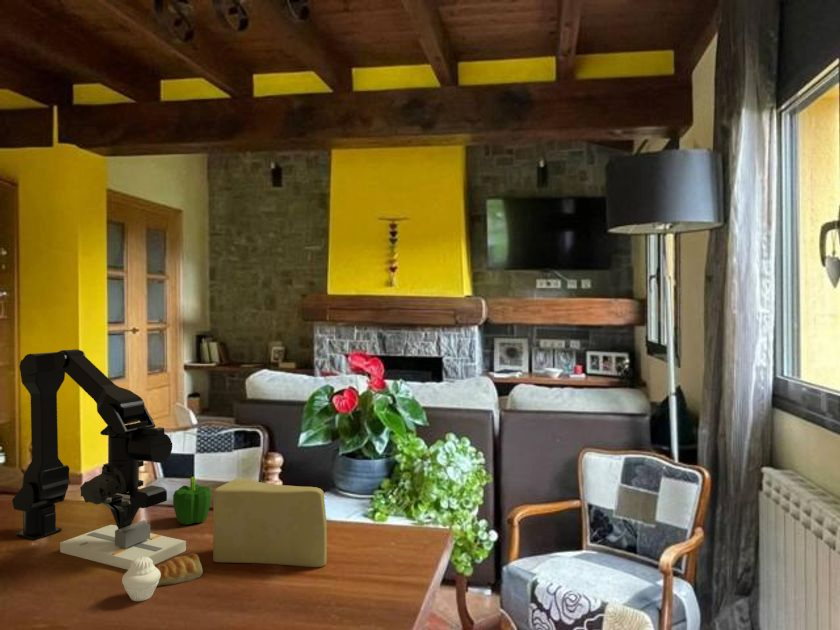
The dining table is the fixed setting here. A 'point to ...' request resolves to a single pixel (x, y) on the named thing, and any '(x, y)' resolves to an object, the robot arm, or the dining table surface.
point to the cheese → (269, 524)
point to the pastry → (180, 569)
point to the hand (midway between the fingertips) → (123, 533)
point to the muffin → (141, 579)
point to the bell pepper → (192, 503)
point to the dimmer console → (120, 548)
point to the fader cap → (132, 534)
